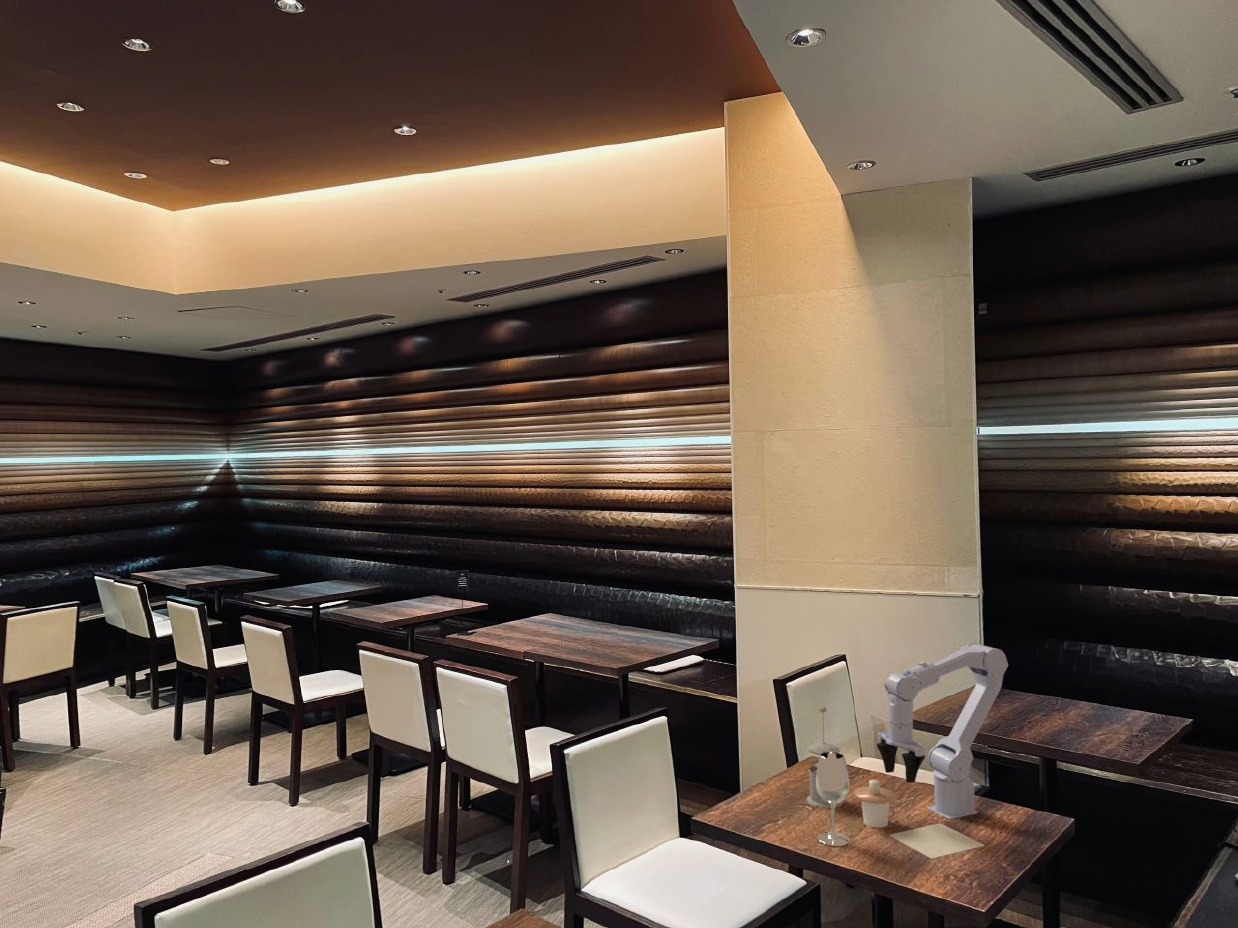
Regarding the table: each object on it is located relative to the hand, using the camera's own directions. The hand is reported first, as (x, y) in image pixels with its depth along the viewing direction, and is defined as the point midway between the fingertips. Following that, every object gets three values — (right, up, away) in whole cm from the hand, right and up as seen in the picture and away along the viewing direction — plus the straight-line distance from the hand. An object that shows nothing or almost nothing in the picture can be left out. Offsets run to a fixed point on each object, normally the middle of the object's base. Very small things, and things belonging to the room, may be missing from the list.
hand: (900, 776), depth 212 cm
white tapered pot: (-7, -11, -4) cm, 13 cm away
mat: (+4, -10, -14) cm, 18 cm away
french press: (-15, -11, +13) cm, 23 cm away
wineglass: (-20, -11, -12) cm, 26 cm away
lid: (-7, -4, -3) cm, 9 cm away
